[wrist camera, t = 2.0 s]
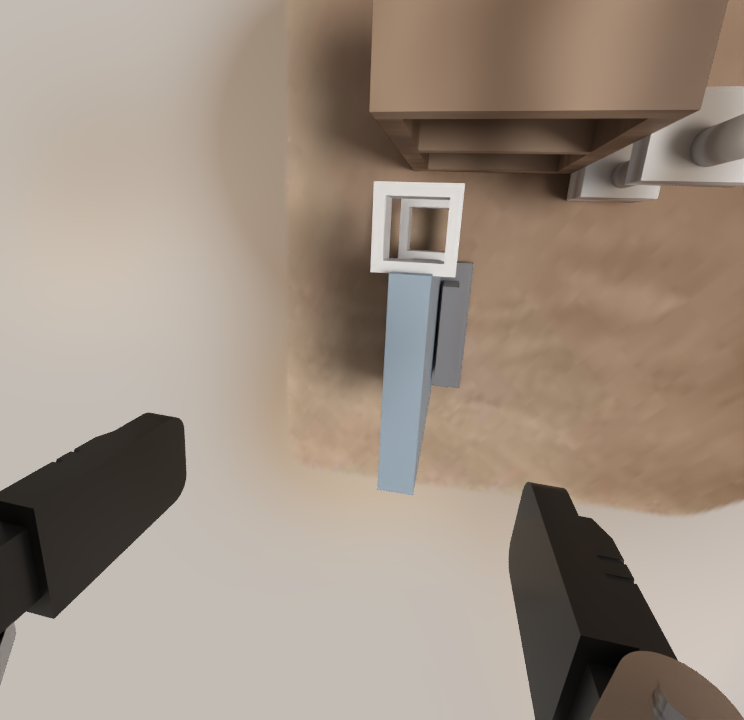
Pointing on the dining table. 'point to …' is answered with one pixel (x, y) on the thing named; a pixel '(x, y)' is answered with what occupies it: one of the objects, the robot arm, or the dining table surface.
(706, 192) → the dining table surface
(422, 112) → the cabinet
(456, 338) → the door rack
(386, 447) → the cabinet door
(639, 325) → the dining table surface
